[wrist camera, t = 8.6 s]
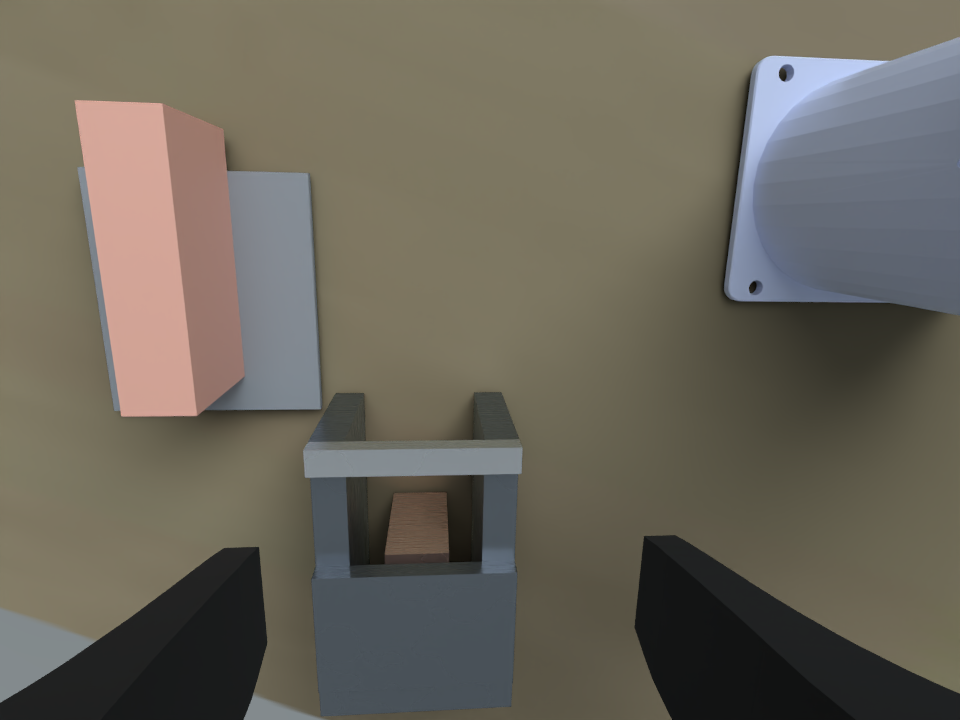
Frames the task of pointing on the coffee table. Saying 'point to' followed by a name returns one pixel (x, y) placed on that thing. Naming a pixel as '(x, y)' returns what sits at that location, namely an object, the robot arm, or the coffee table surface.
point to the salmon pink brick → (163, 254)
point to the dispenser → (413, 568)
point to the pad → (261, 292)
